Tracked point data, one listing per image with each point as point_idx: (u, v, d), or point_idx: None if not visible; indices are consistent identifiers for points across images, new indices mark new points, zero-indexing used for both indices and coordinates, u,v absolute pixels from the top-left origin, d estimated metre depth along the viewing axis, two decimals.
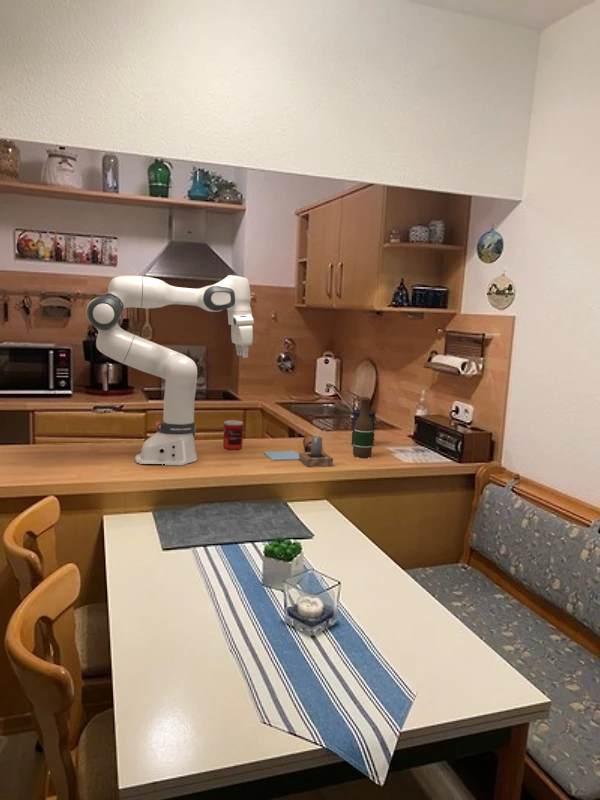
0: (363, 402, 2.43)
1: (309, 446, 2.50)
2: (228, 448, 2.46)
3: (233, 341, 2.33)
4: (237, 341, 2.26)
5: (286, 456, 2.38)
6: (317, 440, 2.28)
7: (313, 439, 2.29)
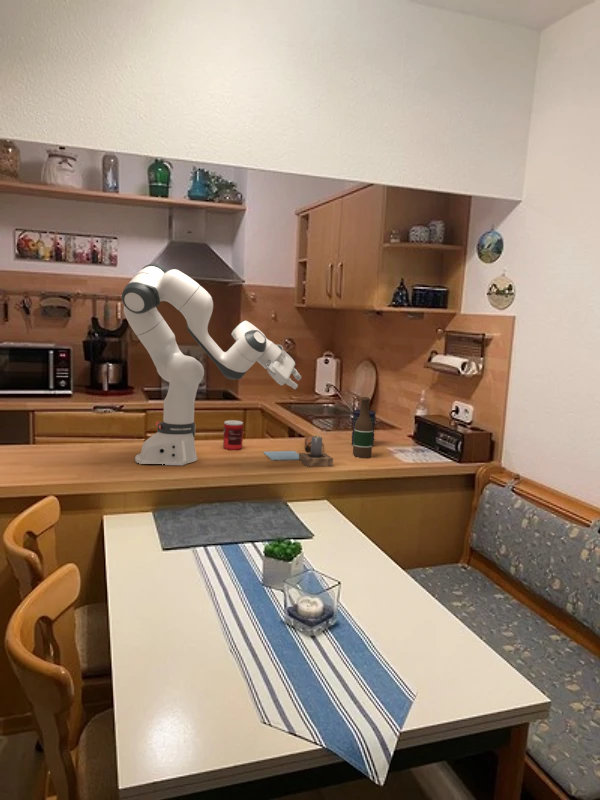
0: (363, 402, 2.43)
1: (310, 446, 2.50)
2: (228, 448, 2.46)
3: (288, 375, 2.15)
4: (290, 367, 2.21)
5: (286, 456, 2.38)
6: (317, 440, 2.28)
7: (313, 439, 2.29)
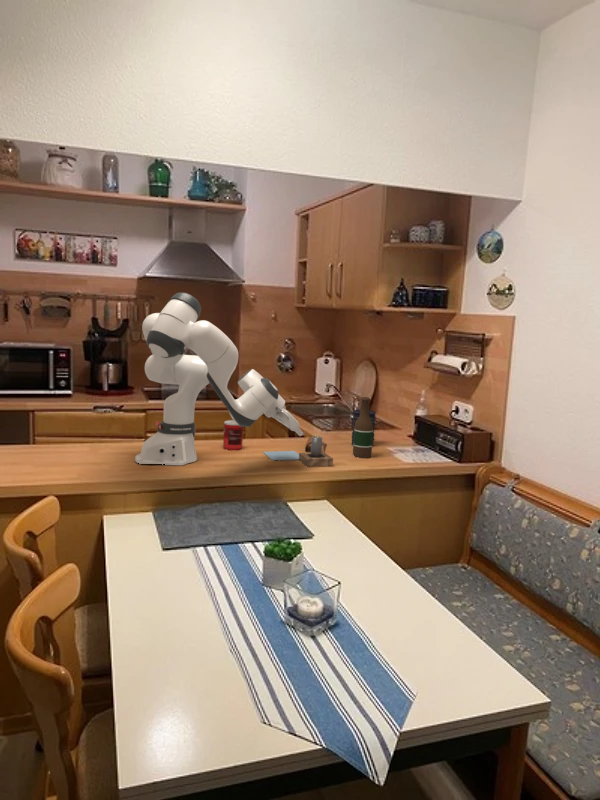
0: (363, 402, 2.43)
1: (310, 446, 2.50)
2: (228, 448, 2.46)
3: None
4: None
5: (286, 456, 2.38)
6: (317, 440, 2.28)
7: (313, 439, 2.29)
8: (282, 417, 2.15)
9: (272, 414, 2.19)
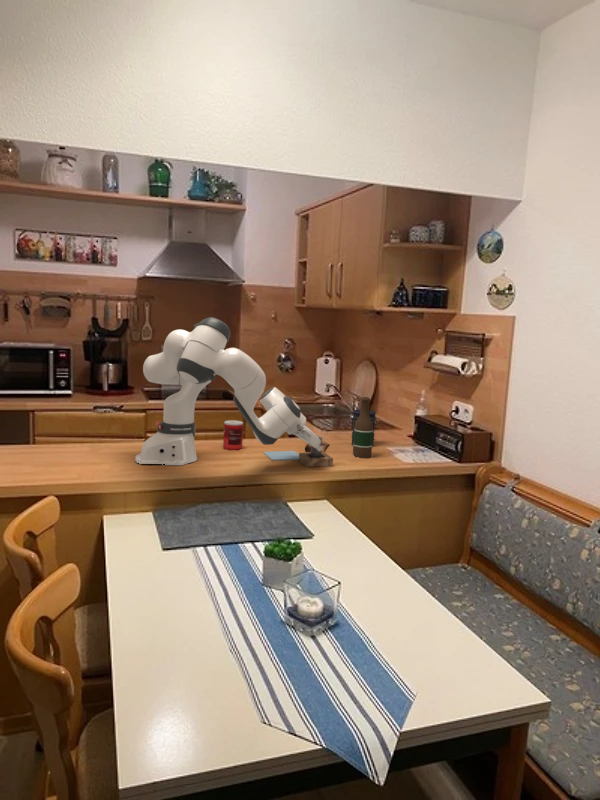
0: (363, 402, 2.43)
1: (309, 446, 2.50)
2: (228, 448, 2.46)
3: None
4: None
5: (286, 456, 2.38)
6: None
7: None
8: (304, 435, 2.19)
9: (294, 431, 2.23)
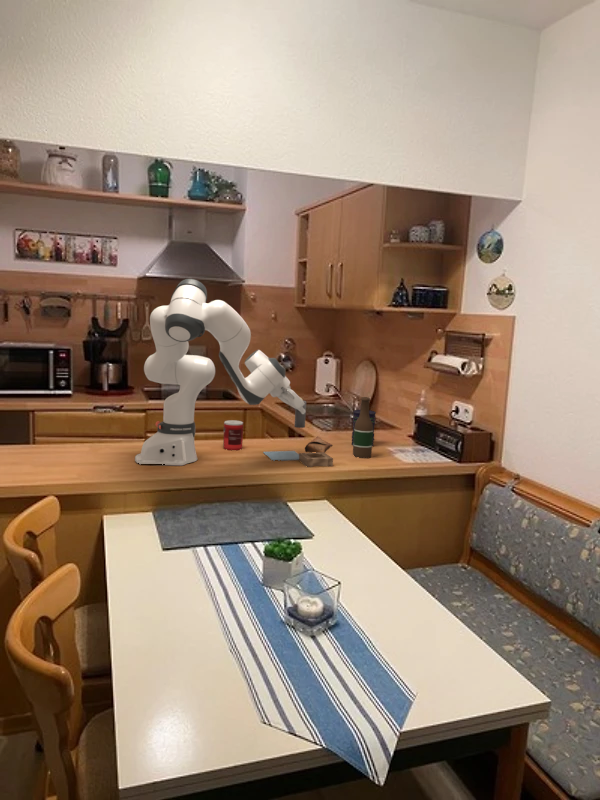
0: (363, 402, 2.43)
1: (309, 446, 2.50)
2: (228, 448, 2.46)
3: None
4: None
5: (286, 456, 2.38)
6: None
7: None
8: (288, 396, 2.22)
9: (278, 394, 2.26)
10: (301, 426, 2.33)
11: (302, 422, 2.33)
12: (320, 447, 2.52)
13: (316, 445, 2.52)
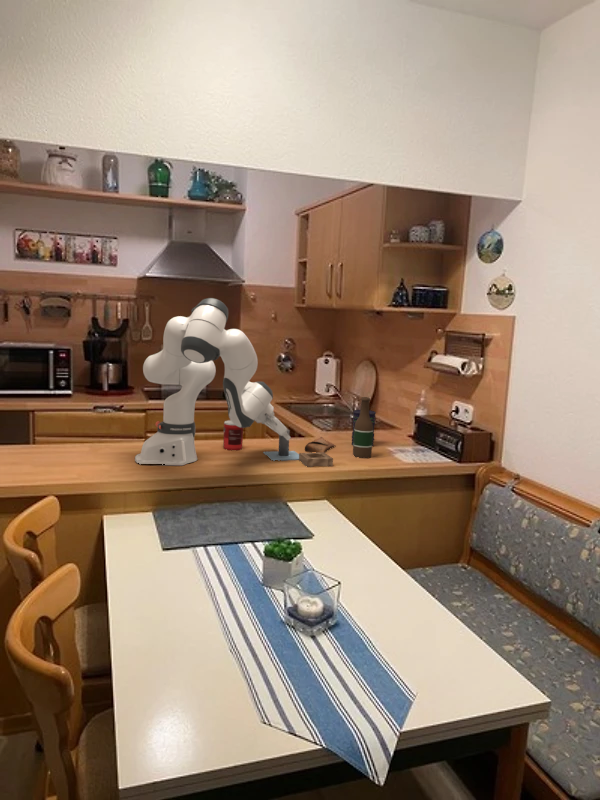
0: (363, 402, 2.43)
1: (309, 446, 2.50)
2: (228, 448, 2.46)
3: None
4: None
5: (286, 456, 2.38)
6: None
7: None
8: (271, 423, 2.27)
9: (261, 420, 2.32)
10: (285, 454, 2.39)
11: (285, 450, 2.38)
12: (321, 447, 2.52)
13: (316, 445, 2.52)
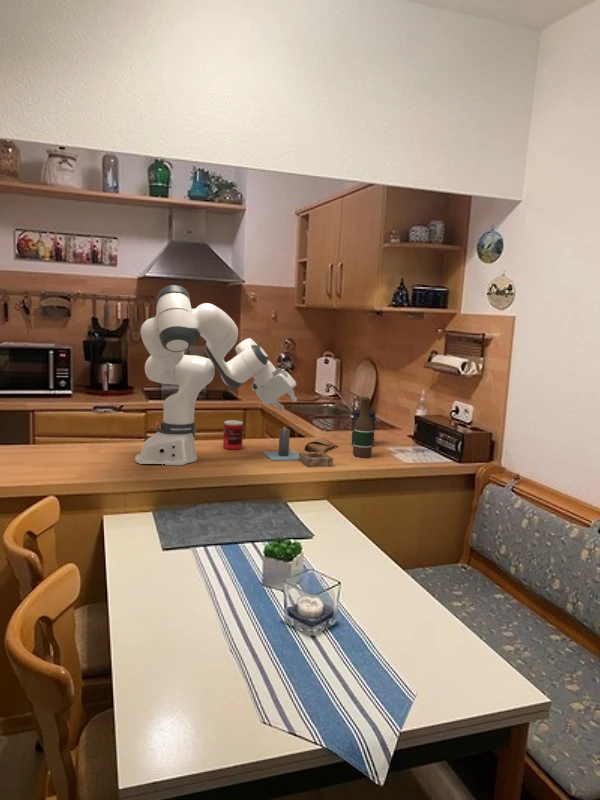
0: (363, 402, 2.43)
1: (309, 446, 2.50)
2: (228, 448, 2.46)
3: None
4: None
5: (286, 456, 2.38)
6: (284, 432, 2.37)
7: (281, 431, 2.38)
8: (281, 374, 2.26)
9: (268, 378, 2.29)
10: (285, 454, 2.39)
11: (285, 450, 2.38)
12: (321, 447, 2.51)
13: (317, 445, 2.52)
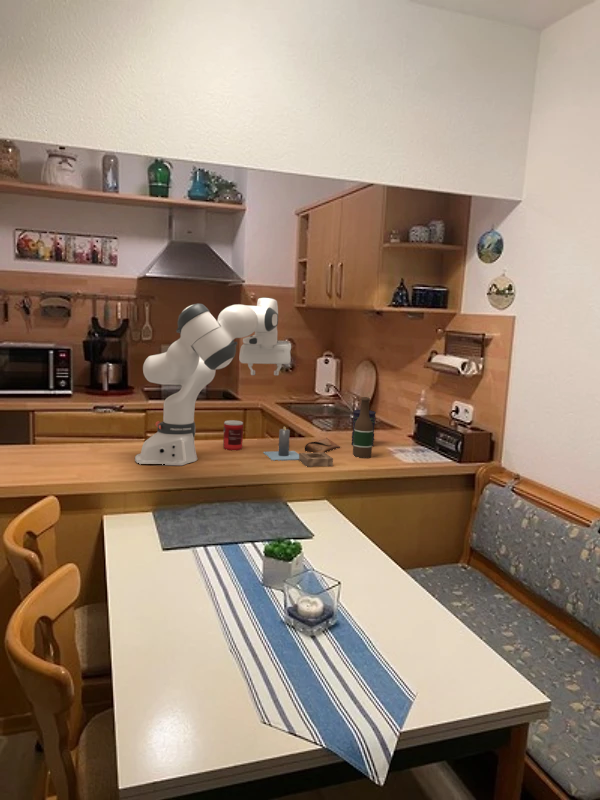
0: (363, 402, 2.43)
1: (309, 446, 2.50)
2: (228, 448, 2.46)
3: None
4: None
5: (286, 456, 2.38)
6: (284, 432, 2.37)
7: (281, 431, 2.38)
8: (288, 347, 2.41)
9: (276, 343, 2.38)
10: (285, 454, 2.39)
11: (285, 450, 2.38)
12: (321, 447, 2.51)
13: (317, 445, 2.52)
